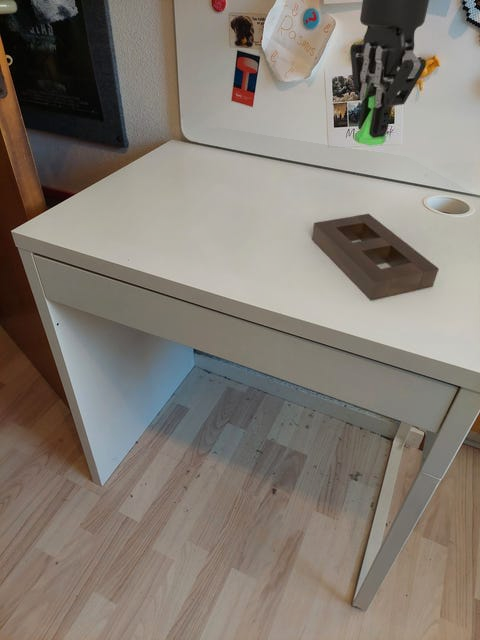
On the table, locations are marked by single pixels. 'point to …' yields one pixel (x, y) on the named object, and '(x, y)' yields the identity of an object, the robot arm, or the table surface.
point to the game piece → (368, 129)
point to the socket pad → (373, 256)
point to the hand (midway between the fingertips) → (371, 132)
